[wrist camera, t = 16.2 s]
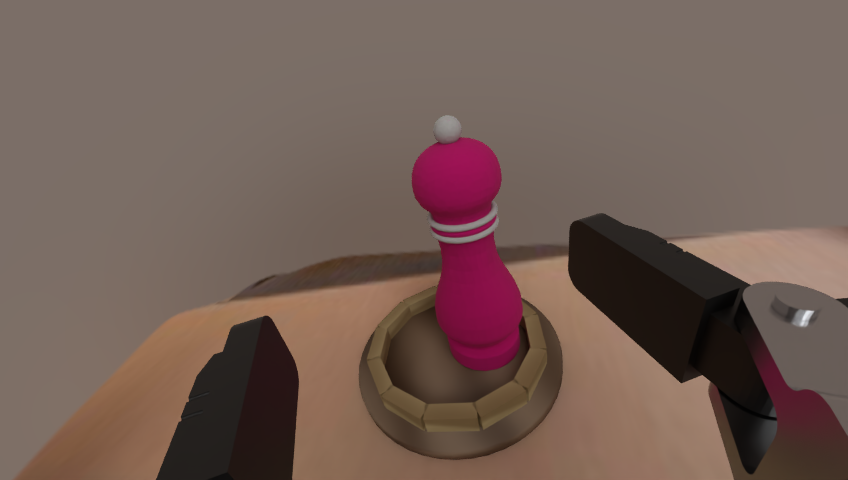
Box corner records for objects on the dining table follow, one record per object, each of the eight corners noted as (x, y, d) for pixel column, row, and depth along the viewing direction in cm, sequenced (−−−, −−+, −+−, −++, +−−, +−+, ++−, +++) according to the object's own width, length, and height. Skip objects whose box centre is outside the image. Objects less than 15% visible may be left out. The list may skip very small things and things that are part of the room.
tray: (402, 514, 22) (392, 495, 21) (343, 338, 37) (336, 321, 36) (614, 380, 26) (616, 358, 25) (485, 272, 41) (483, 255, 40)
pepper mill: (461, 309, 35) (420, 108, 26) (534, 321, 32) (518, 94, 22) (432, 364, 30) (365, 138, 20) (514, 387, 27) (482, 127, 17)
